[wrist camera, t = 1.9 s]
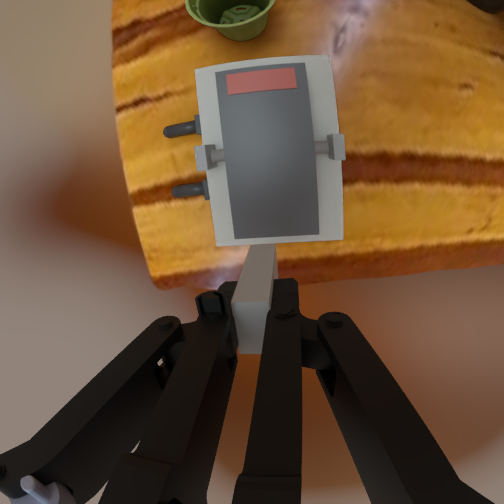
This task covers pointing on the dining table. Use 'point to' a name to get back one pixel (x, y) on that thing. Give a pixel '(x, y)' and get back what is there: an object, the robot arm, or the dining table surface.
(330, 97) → the switch box
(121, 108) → the dining table surface
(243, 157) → the rocker
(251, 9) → the plant pot
